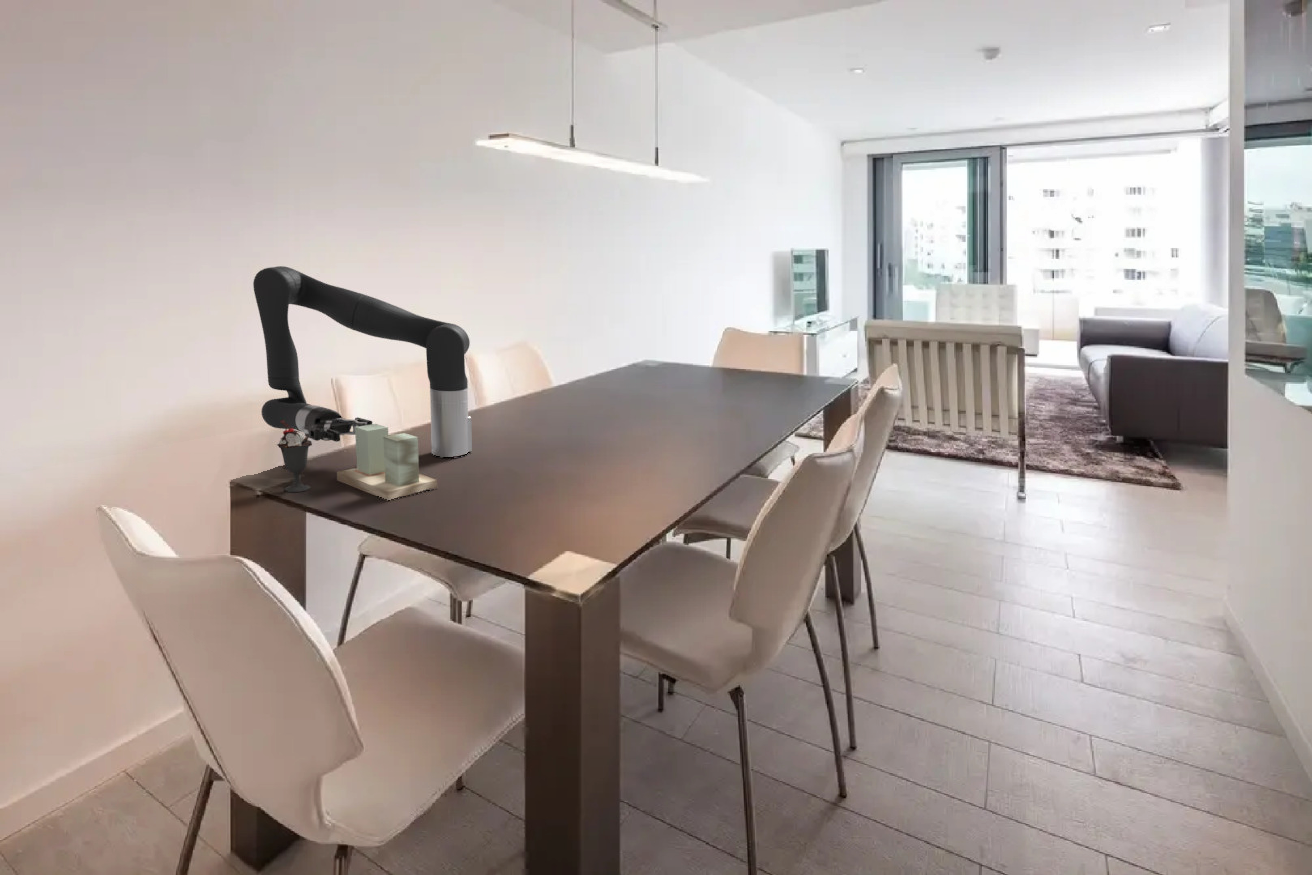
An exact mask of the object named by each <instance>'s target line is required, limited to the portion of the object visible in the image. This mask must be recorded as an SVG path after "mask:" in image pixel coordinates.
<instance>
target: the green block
mask: <svg viewBox="0 0 1312 875" xmlns="http://www.w3.org/2000/svg"><path fill="white" fill-rule="evenodd" d="M354 436H355V453H356V455H355V456H356V468H357V470H358V471H360V472H363V473H366V474H368V475H372V474H376V473H381V472H385V461H384V436H389V427H387V426H384V425H381V424H378V423H372V424H371V425H365V426H358V427H355V435H354Z"/></svg>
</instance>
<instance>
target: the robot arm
mask: <svg viewBox="0 0 1312 875" xmlns="http://www.w3.org/2000/svg"><path fill="white" fill-rule="evenodd" d="M252 285H253V291H254V292H253V293H254V298H255V302H256V306H257V308H258V314H259V318H260V323H261V327H262V328H261V329H262V331H263V338H264V345H265V353H266V354H265V356H266V369H267V382H268V385H269V387H270V389H272V390H276V391H285V392H287V397H279V398H273V399H269V400H267V401H265V403H263V405H262V408H261V416H262V419H263V421H264V422H265V423H266V424H267V425H268V426H270V427H272V428H275V429H281V430H282V429H283V430H286V427H287V430H288V429H289V427H290V428H292V429H294V430H295V431H299V432H300V433H303V434H304V437H306V436H307V435H308V434H309V437H308V439H311V440H313V441H316V442H317V441H324V442H325V441H328V442H329V441H333V442H340V441H341V436H345V435H350V436H352V435H353V436H355V427H358V426H365V425H371V424H373V420H371V419H370V420H369V419H366V418H362V417H355V418H354V419H349V418H348V419H347V418H344V417H343V416H342V415H341V414H340V413H339V412H338V411H336V410H334V409H330V408H327V407H324V406H320V405H315V404H309V403H307V400H306V398H305V396H304V393H303V388H302V386H301V381H300V372H299V370H300V369H299V357H298V352H297V349H296V346H295V343H294V340H293V337H292V335H291V330H290V325H289V305H294V306H299V307H303V308H306V309H307V308H308V309H311V310H314V311H317V312H319V313H322V314H324V315H325V316H327V317H328V318H330V319H332V320H333V321H335V322H336V323H338V324H340V325H341V326H343V327H345V328H348V329H350V330H352V331H355V332H358V333H360V334H361V333H362V334H364V335H366V336H367V335H368V336H371V337H375V338H379V339H386V340H391V341H397V342H398V341H399V342H406V343H411V344H413V345H415V346H416V345H417V346H419V347H422V348H424V349H425V350H426V351H425V353H426V355H425V356H426V368H427V370H426V371H427V372H426V373H427V379H428V382H429V396H430V398H429V399H430V402H429V403H430V404H429V405H430V438H431V440H430V441H431V442H430V444H431V455H432V454H433V455H432V456H434V455H436V456H440V457H439V458H443V457H453V456H459V455H463V454H467V453H468V452H469V451H472V450H473V447H472V446H473V445H472V444H473V442H472V441H473V440H472V435H473V434H472V417H471V416H470V415H469V402H468V399H469V397H468V393H469V392H468V390H469V389H468V385H469V384H468V383H469V382H468V377H467V375H466V374H467V373H466V363H465V358H466V357H465V354H466V353H467V352H468V350H469V348H470V345H471V344H470V342H471V340H470V338H469V335H468V333H467V332H466V331H465V329H464V328H462V327H461V326H459V325H457V324H455V323H449V322H446V321H441V320H435V319H432V318H429V317H424V316H422V315H418V314H415V313H413V312H411V311H408V310H406V309H404V308H402V307H399V306H396V305H394V304H391V303H389V302H386V301H384V300H381V299H378V298H377V297H373V296H370V295H368V294H364V293H360V292H357V291H354V290H350V289H347V288H343V287H340V286H337V285H336V286H335V285H331V284H328V283H325V282H323V281H321V280H318V279H316V278H314V277H312V276H309V275H307V274H305V273H303V272H301V271H299V270H296V269H294V268H292V267H288V266H283V265H281V266H271V267H266V268H263V269H260V270H259V271H258V272H257V273H256V274H255V276H254V279H253V284H252ZM281 421H284V422H285V423H286V424H287V425H288V426H289V427H288V426H287V425H286V424H285V423H284V424H285V425H286V426H285V425H284V424H283V423H281ZM351 429H352V431H351ZM472 452H473V451H472ZM468 454H469V453H468ZM468 454H467V455H468ZM436 456H435V457H436Z"/></svg>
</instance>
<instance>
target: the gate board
mask: <svg viewBox="0 0 1312 875" xmlns="http://www.w3.org/2000/svg"><path fill="white" fill-rule="evenodd" d="M384 461H385V472H381V473H376V474H372V475H368V474H366V473H363V472H360V471H358V470H357V467H354V468H350V469H345V470H340V471H336V481H338V482H340V483H343V484H346V485H348V486H351V487H353V488H356V489H358V490H360V491H363V492H365V493H368V494H370V495H373V496H376V497H377V496H379V497H378V498H380V497H382V498H381V499H383V498H384V499H383V500H385V499H387V500H386V501H388V500H390V501H392V500H391V499H394V498H397V497H399V496H406V495H409V494H411V493H414V492H420V491H423V490H426V489H429V488H434V487H437V488H438V479H436V478H432V477H430V476H426V475H425V474H422V473H420V467H419V437H418V436H416V435H415V436H414V435H412V434H408V433H405V432H403V433H396V434H391V435H388V436H384ZM406 497H407V496H406ZM394 500H395V499H394Z"/></svg>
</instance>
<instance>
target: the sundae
mask: <svg viewBox="0 0 1312 875" xmlns="http://www.w3.org/2000/svg"><path fill="white" fill-rule="evenodd" d="M281 423H283V424H284V423H285V422H284V421H281ZM285 424H286V423H285ZM285 424H284V425H285ZM286 425H287V424H286ZM286 425H285V426H286ZM287 426H288V425H287ZM288 427H289V426H288ZM282 434H283V435H282V437H280V440H279V441H278V443H277V444H276V446H278V448H280V451H281V454H282V460H283V464H284V465H285V466H284V467H285V469H286V470H287V471H288V472H289V473H291V474H292V475H293V482H292V484H291V485H289V486H287V487H285V488H286V489H285V488H284V491H285V490H286V491H285V492H287V493H301V492H306V491H309V490H310V489H311V486H310V485H308V484H303V483H302V482H301V473H303V471H305V470H306V468H307V465H308V454H309V447H311V446H312V445H313V442H312V441H311V440H309V438H308V437H309V434H308V435H307V436H304V435H303V434H304V433H303V432H301V431H298V430H296V429H292V428H290V427H289V429H287V427H286V429H284V431H283V432H282Z"/></svg>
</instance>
